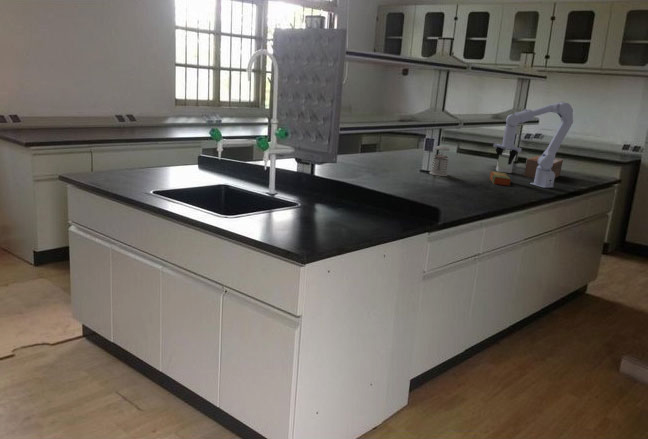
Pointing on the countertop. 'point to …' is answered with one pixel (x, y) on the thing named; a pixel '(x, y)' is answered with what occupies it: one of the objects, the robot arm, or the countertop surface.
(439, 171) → the french press
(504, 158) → the box
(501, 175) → the carton
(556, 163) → the tissue box cover
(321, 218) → the countertop surface
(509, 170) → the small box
